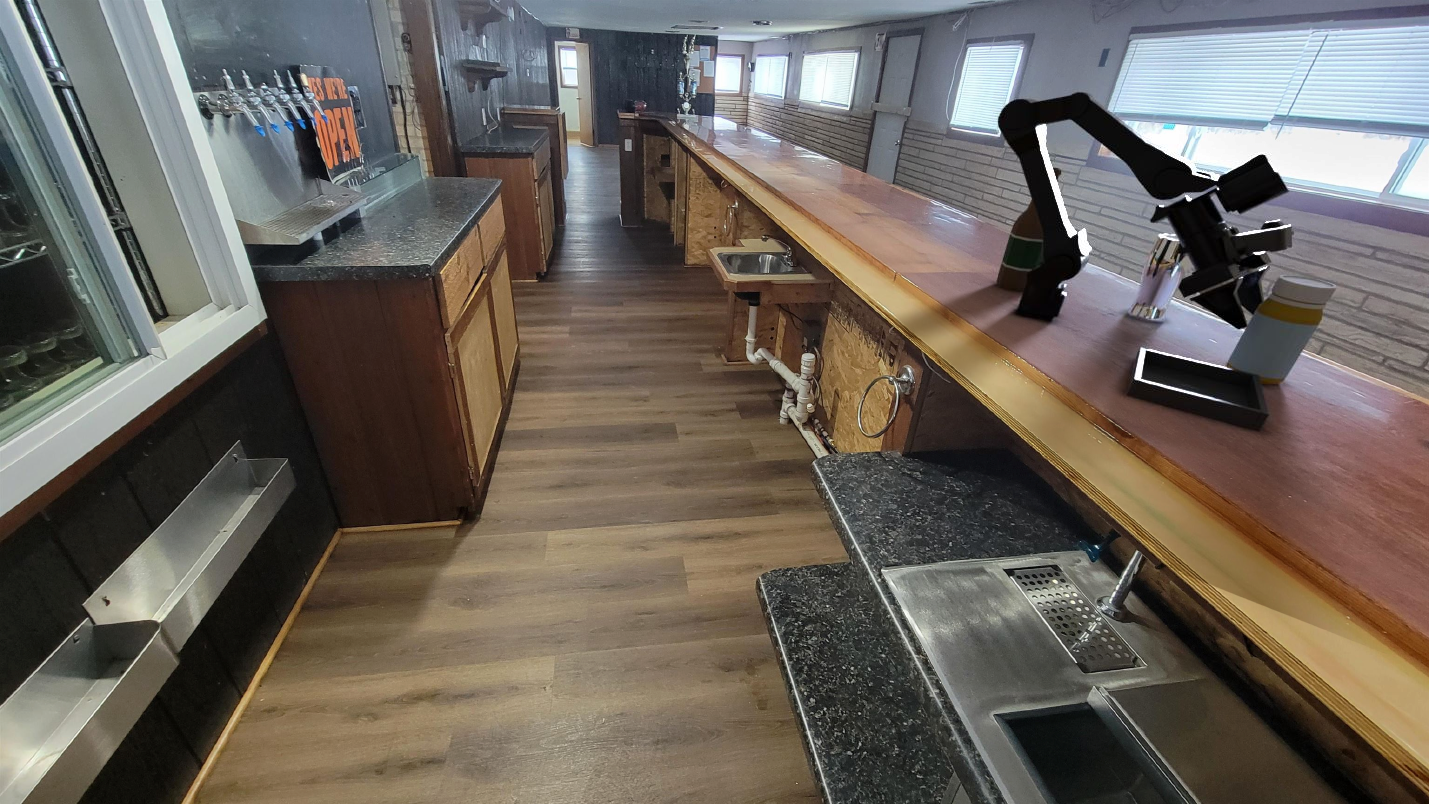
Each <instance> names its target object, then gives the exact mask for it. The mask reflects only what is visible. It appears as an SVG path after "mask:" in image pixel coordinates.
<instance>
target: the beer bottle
mask: <svg viewBox="0 0 1429 804" xmlns="http://www.w3.org/2000/svg"><path fill="white" fill-rule="evenodd" d="M1052 170H1053V173H1054V176H1055V179H1056V182H1057V183H1058V181H1059V177H1060V176H1062V169H1061V168H1059V167H1053V166H1052ZM1007 239H1008V240H1007V243H1006V247H1005V250H1004V252H1003V257H1002V260H1001V262H1000V263H1001V264H1000V267H999V270H998V274H997V278H996V284H997V285H998V286H999V288H1001V289H1006V290H1008V291H1012V292H1021V293H1023V290H1024V287H1025V284H1026V281H1027V273H1028V272H1029V271H1031V270H1032V269H1033V268H1035V267H1036V266H1037V265H1039V264H1040V263H1042V262H1043V253H1042V250H1043V233H1042V229H1041V226H1040V223H1039V220H1038V217H1037V214H1036V210H1035V207H1034V204H1033V201H1032V199H1031V200H1030V202H1029V203H1028V206H1027V208H1026V209H1025V210H1024V211H1022V212H1021V214H1020V215H1019V216H1018V217H1017V219H1016V220H1015V221H1014V223H1013V225H1012V227H1011V230H1010V233H1009V236H1008V238H1007Z"/></svg>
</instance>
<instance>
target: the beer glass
mask: <svg viewBox="0 0 1429 804" xmlns="http://www.w3.org/2000/svg"><path fill="white" fill-rule="evenodd" d="M1181 248H1183V247H1182V245H1181V243H1180V241H1179V239H1178V237H1177V236H1176V234H1175V233H1174V234H1172V233H1160V234H1158V235H1157V238H1156V240H1155V241H1154V243H1153V245H1152V246H1151V249H1150V251H1149V253H1148V255H1147V257H1146V260H1145V263H1144V266H1143V270H1142V273H1141V278H1140V282H1139V287H1138V291H1137V294H1136V297H1135V299H1134V300H1133V302H1132V304H1131V305H1130V306H1129V308H1128V310H1127V312H1126V313H1127V315H1128V316H1129V317H1131V318H1134V319H1136V320H1140V321H1144V322H1150V323H1162V322H1164V321H1165V319H1166V316H1167V311H1168V308H1169V305H1170V303H1171V301H1172V299H1173V297H1174V296H1175V295H1176V293H1177V292H1178V290H1179V288H1178V286H1179V284H1180V282H1181V280H1182V279H1183V278H1185V277H1188V276H1189V275H1190V274H1191V273H1190V272H1191V271H1192V269H1193V268H1194V266H1193V265H1192V263H1191V261H1190V259H1189V257H1188V256H1187V254H1185V255H1181V253H1180V251H1179V249H1181Z"/></svg>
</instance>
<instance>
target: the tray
mask: <svg viewBox="0 0 1429 804" xmlns="http://www.w3.org/2000/svg"><path fill="white" fill-rule="evenodd" d="M1136 353H1137V354H1136V355H1135V358H1134V359H1133V362H1132V363H1133V364H1132V368H1131V373H1130V376H1129V377H1130V378H1129V382H1128V386H1127V392H1126V396H1129V397H1133V398H1137V399H1140V400H1143V401H1148V402H1151V403H1155V404H1159V405H1161V406H1166V407H1170V408H1173V409H1177V410H1181V411H1184V412H1187V413H1191V414H1195V415H1199V416H1202V417H1206V418H1209V419H1213V420H1217V421H1221V422H1224V423H1228V424H1232V425H1235V426H1238V427H1242V428H1247V429H1250V430H1254V431H1257V432H1260V431H1261V430H1262V428H1263V426H1264V425H1265V423H1266V421H1267V419H1268V418H1269V417H1270V412H1269V408H1268V404H1267V401H1266V400H1267V399H1266V396H1265V393H1264V389H1263V388H1264V387H1263V384H1261V380H1260V376H1259V375H1256V374H1252V373H1248V372H1244V371H1240V370H1236V369H1231V368H1227V366H1223V365H1218V364H1214V363H1209V362H1206V361H1202V360H1196V359H1193V358H1189V357H1184V356H1180V355H1175V354H1172V353H1167V352H1162V351H1160V350H1159V351H1158V350H1154V349H1150V348H1145V347H1142V346H1140V347H1139V349H1138V351H1137V352H1136Z"/></svg>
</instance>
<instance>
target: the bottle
mask: <svg viewBox="0 0 1429 804" xmlns="http://www.w3.org/2000/svg"><path fill="white" fill-rule="evenodd" d="M1337 287H1338V286H1337V285H1336V284H1334V283H1333V282H1329V281H1326V280H1322V279H1318V278H1313V277H1310V276H1303V275H1295V274H1281V275H1279V276H1278V277H1277V279H1276V280H1275V282H1274V284H1273V286H1272V288H1271V291H1269V294H1268V295H1267V297H1266V298H1264V301H1263V302H1262V303H1261V304H1260V305H1259V306H1258V308H1257V309H1256V311H1255V313H1254V314H1253V315H1252V317H1251V318H1250V320H1249V322H1248V323H1247V327H1246V328H1244V331H1243V332H1242V334H1241V337H1240V338H1239V340H1238V342H1237V343H1236V345H1235V347H1234V349H1233V351H1232V353H1231V354H1230V356H1229V358H1228V360H1227V362H1226V364H1225V367H1227V368H1231V369H1236V370H1240V371H1244V372H1248V373H1252V374H1256V375H1259V376H1260V380H1261V384H1262V385H1268V386H1269V385H1270V386H1271V385H1277V384H1280V383H1283V382H1284V381H1285V380H1286V378H1287V377H1288V375H1289V374H1290V372H1291V371H1292V369H1293V367H1294V366H1295V364H1296V362H1297V361H1298V360H1299V358H1300V357H1301V354H1302V353H1303V351H1304V350H1305V348H1306V346H1307V344H1308V343H1309V341H1310V340H1311V338H1312V336H1313V335H1314V333H1315V332H1316V330H1317V329H1318V327H1319V325H1320V323H1321V322H1322V319H1323V313H1324V312H1323V311H1324V309H1325V308H1326V306H1327V303H1328V302H1330V300H1331V298H1332V297H1333V295H1334V293H1335V292H1336V290H1337Z"/></svg>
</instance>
